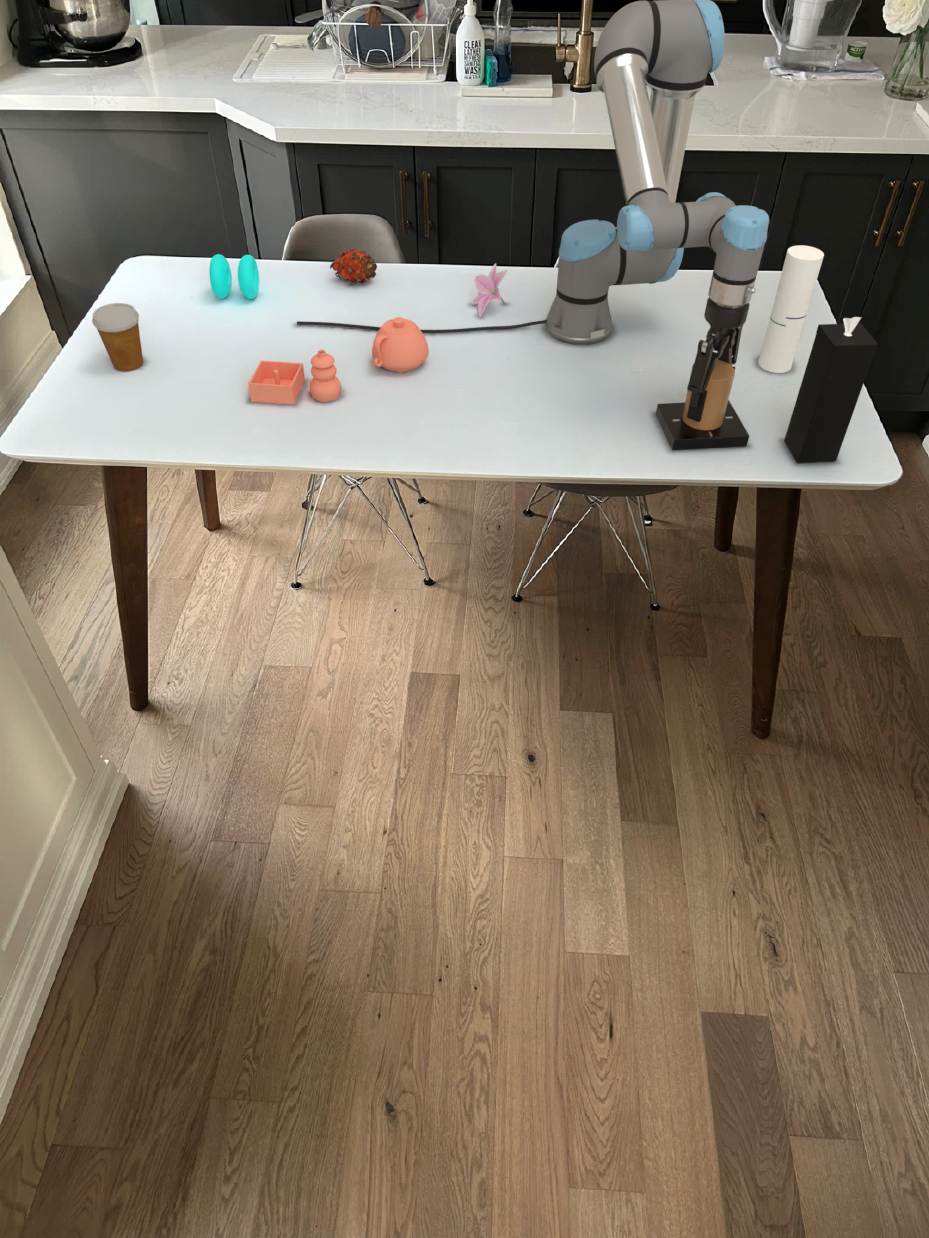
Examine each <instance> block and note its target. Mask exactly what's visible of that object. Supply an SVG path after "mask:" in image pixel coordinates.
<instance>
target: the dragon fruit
mask: <svg viewBox="0 0 929 1238" xmlns="http://www.w3.org/2000/svg"><path fill="white" fill-rule="evenodd" d="M329 269H330V270H331V269H332V270H333V271H335V272H334V275H335V276H336V277H337V278H338V279H339V280H347V281H348V282H349V284H350V285H352V286H353V285H355V284H357V283H358V282H359V283H360V284H364V283H366V282H367V280H371V279H373V278H375V277H376V276H377V273H376V271H377V269H378V265H377V263H376V261H375V259H374V258H373V256H372V255H370V254H367V252H366V251H364V250H362V249H361V248H358V249H357V250H356V249H353V248H350V249H347V250H346V251H345V252H344V251H343V252H341V255H340V257H338V258H336V259H335V260H334V261H333V262H331V264H330V266H329Z"/></svg>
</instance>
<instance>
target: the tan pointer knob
mask: <svg viewBox="0 0 929 1238" xmlns="http://www.w3.org/2000/svg"><path fill="white" fill-rule="evenodd" d="M693 366H694V363H693V364H692V366H691V371H690V374H691V373H692V369H693ZM732 366H733V365H732ZM732 366H731V365H730V364H728V363H726V362H724V361H721V360H718V359H717V361H716V364H715V366H714V369H713V371H712V374H711V377H710V379H709V382H708V385H707V387H706V391H707V395H706V400H705V404H704V409H703V413H702V418H701V421H700V422H697V421H694V420H692V419H689V418H687V413H688V408H689V404H690V399H691V394H692V392H691V391H688V390H687V389H686V390H687V391H686V395H685V396H686V397H685V400H684V402H685V405H684V410H683V415H682V419H683V421H684V422H685V423H686V424H687V425H688V426H690V427H692V428H695V429H699V430H714V429H717V428H719V427H720V426H721V425H722V424H723V420H724V416H725V412H726V408H727V403H728V400H730V395H731V391H732V387H733V383H734V379H735V374H736V369H735V370H734V368H733V367H734V366H733V367H732Z"/></svg>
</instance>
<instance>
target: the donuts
mask: <svg viewBox="0 0 929 1238" xmlns="http://www.w3.org/2000/svg"><path fill="white" fill-rule="evenodd" d="M232 281H233V278H232V270H231V266H230V263H229V261H228V259H227V258H226V257H225V256H224V255H223V254H220V253H216V254H214V255H213V256H212V257H211V259H210V262H209V282H210V287H211V290H212V293H213V295H214V297H216V298H217V299H221V300H223V299H226V298H227V297H228V296H229V295H230V292H231V289H232V284H233V283H232ZM237 282H238V287H239V290H240V292H241V294H242V295H243V297H244V298H246V299H248V300H254V299H255V298H257V296H258V293H259V289H260V288H259V287H260V275H259V266H258V263H257V261H256V258H255V257H254V256H253V255H251V254H244V255H243V256H242V257H241V258H240V260H239V262H238V266H237Z"/></svg>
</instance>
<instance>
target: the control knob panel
mask: <svg viewBox="0 0 929 1238" xmlns="http://www.w3.org/2000/svg"><path fill="white" fill-rule="evenodd" d="M684 405H685V401H684V402H670V403H669V402H668V403H667V402H666V403H657V404H656V410H655V416H656V418H657V421H658V422H659V425H660V427H661V429H662V431H663V434H664V436H665V439H666V440H667V442H668V445H669V446H670V449H671V451H688V450H705V449H706V450H708V449H723V448H743V447H744V448H745V447H747V446H748V442H749V439H750V434H749V433H748V431H747V429H746V427H745V425H744V424H743V422H742V420H741V419H740V417H739V415H738V413H737V412H736V410H735V408H734V406H733V404H732V403H731V402H730V399H728V403H727V408H726V412H725V416H724V420H723V424H722V425H721V426H720V427H719V428H717V429H714V430H699V429H695V428H692V427H690V426H688V425H687V424H686V423H685V422H684V421H683V419H682V415H683V410H684Z"/></svg>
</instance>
